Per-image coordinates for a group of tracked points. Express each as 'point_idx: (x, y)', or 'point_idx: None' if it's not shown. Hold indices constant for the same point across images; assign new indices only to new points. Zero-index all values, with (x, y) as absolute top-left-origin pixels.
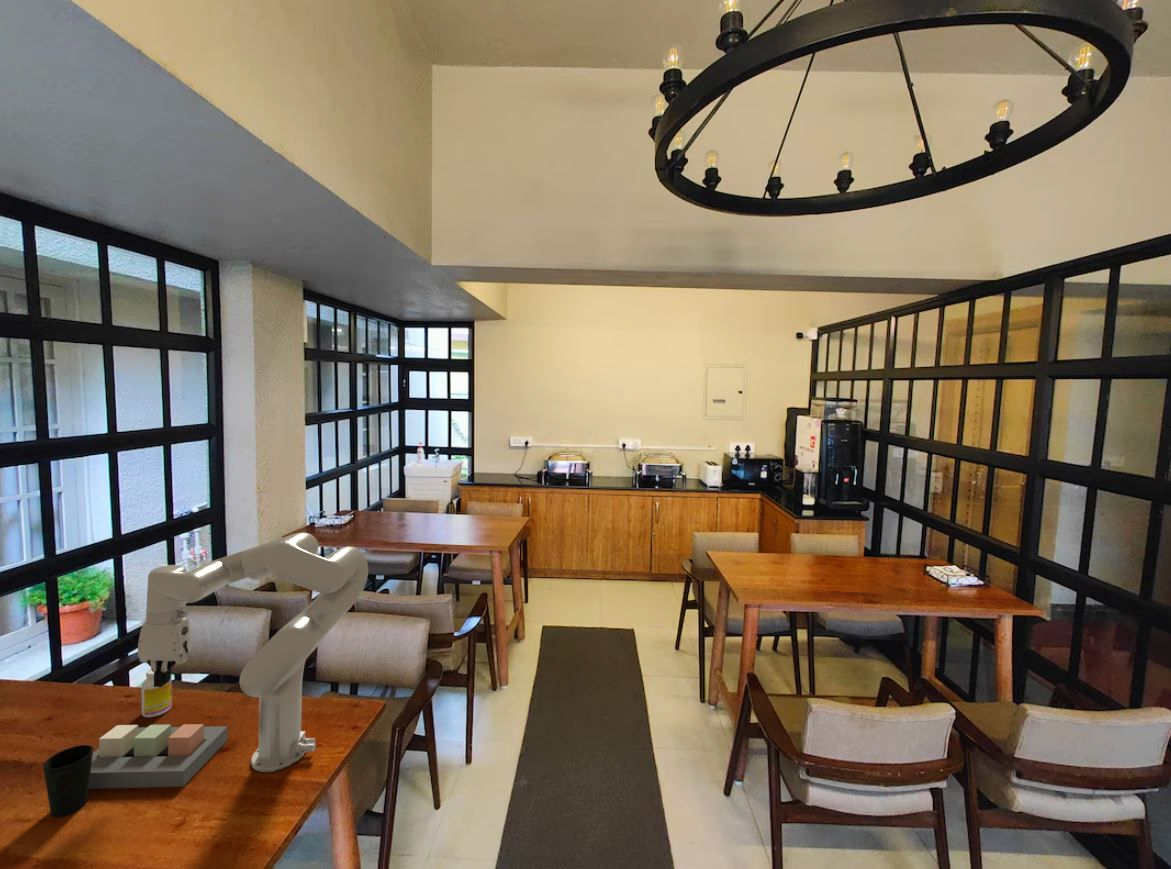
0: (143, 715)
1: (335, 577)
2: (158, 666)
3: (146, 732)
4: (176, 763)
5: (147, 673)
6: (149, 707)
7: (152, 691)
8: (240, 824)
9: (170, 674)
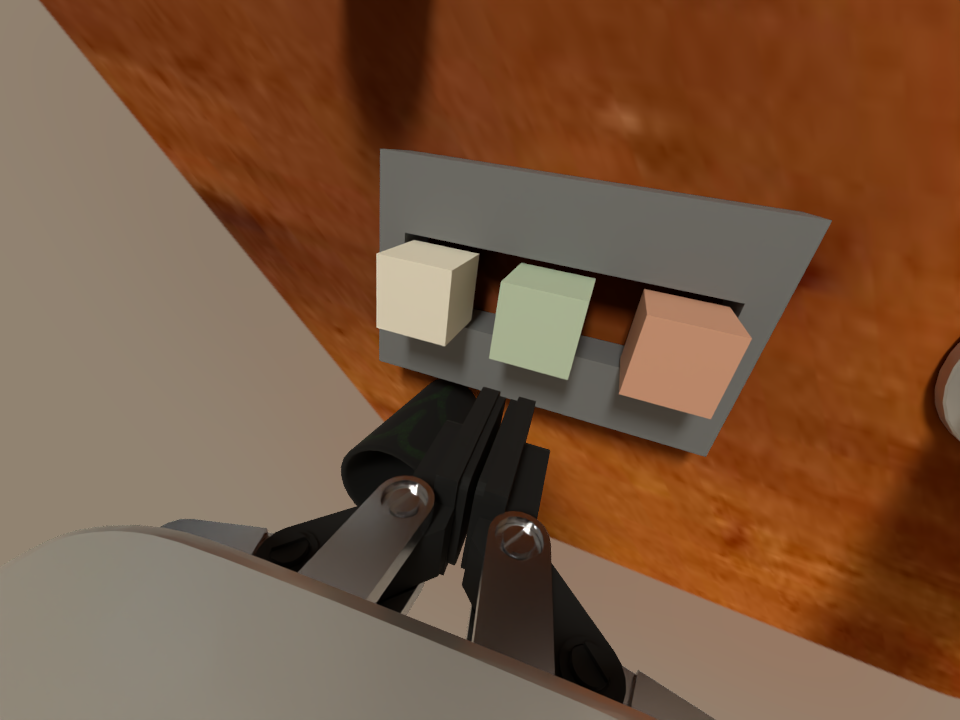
0: None
1: None
2: (414, 582)
3: (514, 334)
4: (668, 414)
5: None
6: None
7: None
8: (902, 604)
9: (542, 482)
